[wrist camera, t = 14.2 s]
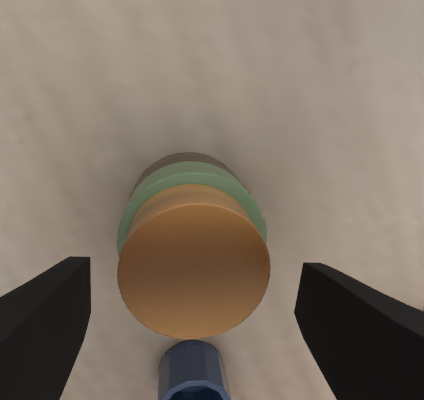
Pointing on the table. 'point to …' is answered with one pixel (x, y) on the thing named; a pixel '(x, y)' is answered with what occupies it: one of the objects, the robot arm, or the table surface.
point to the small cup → (192, 373)
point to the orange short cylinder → (192, 263)
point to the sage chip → (190, 175)
